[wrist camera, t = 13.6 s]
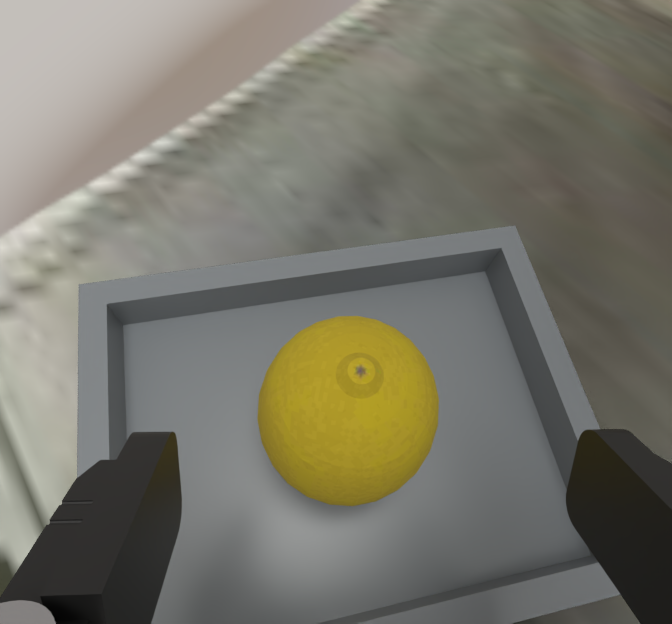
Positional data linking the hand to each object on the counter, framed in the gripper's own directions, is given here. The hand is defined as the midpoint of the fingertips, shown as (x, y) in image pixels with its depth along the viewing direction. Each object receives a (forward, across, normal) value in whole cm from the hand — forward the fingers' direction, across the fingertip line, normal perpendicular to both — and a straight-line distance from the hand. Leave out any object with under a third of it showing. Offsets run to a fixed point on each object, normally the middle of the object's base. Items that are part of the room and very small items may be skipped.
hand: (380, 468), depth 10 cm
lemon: (+8, 0, +5) cm, 10 cm away
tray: (+9, 0, +5) cm, 11 cm away
